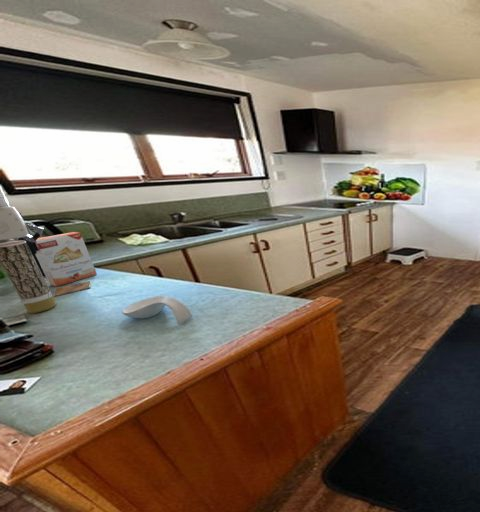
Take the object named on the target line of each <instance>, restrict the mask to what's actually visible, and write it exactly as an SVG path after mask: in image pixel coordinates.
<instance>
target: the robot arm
mask: <svg viewBox="0 0 480 512" xmlns="http://www.w3.org/2000/svg"><path fill="white" fill-rule="evenodd" d="M19 213H20V212H19V211H18V210H17V209H16V207H14V206H11V205H10V203H9V201H8V199H7V197H6V194H5V193H4V191H3V188H2V186H1V185H0V241H7V240H15V239H18V238H21V237H22V238H24V239H26V240H28V241H29V243H28V244H29V246H30V248H31V250H32V252H33V254H37V253H38V251H39V248H38V245H37V243H36V240H37V239H38V238H41V235H42V233H44V230H45V229H44V227H41V226H37V225H34V224H30V223H26V222H25V221H24V220H25V219H24V218H23V219H24V220H23V219H22V217H23V216H22V217H21V216H20V214H19ZM30 230H32V231H33V230H34V231H35V233H34V234H33V235H32V236H33V237H32V236H30V235H29V232H30Z"/></svg>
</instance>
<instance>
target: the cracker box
mask: <svg viewBox="0 0 480 512" xmlns="http://www.w3.org/2000/svg"><path fill="white" fill-rule="evenodd" d="M36 243H37V245H38V248H39V251H38V253H37V254H35V255H36V257H37V259H38V261H39V263H40V265H41V267H42V269H43V272H44V274H45V276H44V277H45V278H46V280H47V282H48V284H49V286H53V287H60V286H63V285H68V284H71V283H73V282H77V281H80V280H84V279H87V278H90V277H94V276H97V275H98V273H97V271H96V268H95V266H94V263H93V261H92V259H91V256H90V254H89V251H88V248H87V246H86V243H85V241H84V238H83V235H82V233H81V232H76V231H71V232H66V233H60V234H55V235H49V236H48V235H47V236H43V237H39V238H38V239H37V240H36Z"/></svg>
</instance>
